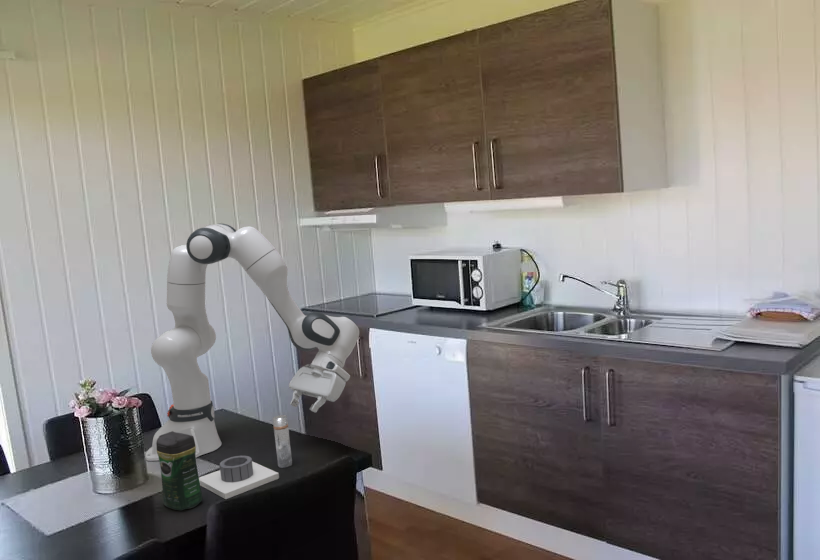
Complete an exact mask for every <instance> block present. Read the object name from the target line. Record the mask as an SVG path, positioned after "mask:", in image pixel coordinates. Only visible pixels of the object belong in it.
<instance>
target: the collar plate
mask: <svg viewBox="0 0 820 560" xmlns="http://www.w3.org/2000/svg"><path fill="white" fill-rule="evenodd" d="M278 479H280V474H279V472H277V471H275V470H273V469H270V468H269V467H266V466H264V465H261V464H259V463H257V462H254V461H253V459H252V457H251V456H248V455H235V456H231V457H228V458H225V459H223V460H222V461H221V462H219V470H217V471H213V472H211V473H208V474H205V475H202V476H199V482H200V487H202V488H205V489H206V490H208V491H210V492H212V493H213V494H216V495H217V496H219V497H221V498H222V499H225V500H227V499H230V498H232V497H235V496H237V495H240V494H243V493H245V492H247V491H248V492H249V491H251V490H253V489H256V488H258V487H261V486H263V485H265V484H268V483H271V482H273V481H277V480H278Z"/></svg>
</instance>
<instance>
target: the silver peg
mask: <svg viewBox="0 0 820 560" xmlns="http://www.w3.org/2000/svg"><path fill="white" fill-rule="evenodd" d="M288 421H289V420H288V416H287V415H285V414H281V415H275V416H273V417H272V422H273V423H272V424H273V425H272V426H273V433H274V443H275V449H276V450H275V451H276V459H277V466H278V468H281V469H283V468H285V469H286V468H289V467H291V466H293V459H292V449H291V441H290V429H289V422H288Z"/></svg>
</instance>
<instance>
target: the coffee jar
mask: <svg viewBox="0 0 820 560" xmlns="http://www.w3.org/2000/svg"><path fill="white" fill-rule="evenodd" d="M156 446H157V454H158V457H159V460H158V461H159V465H160V466H159V467H160V468H159V469H160V476H161V486H162V487H161V488H162V500H163V504H164V506H165V507H166V508H169V509H172V510H175V511H183V510H188V509H192V508H195V507H196V506H198V505H199V504H200V503H201V502H202V501H203V496H202V495H203V494H202V488H201V487H202V486H200V482H199V477H200V476H199V471H198V465H197V458H196V456H195V451H196V445H195V441H194V437H193V436H192V435H187V434H183V433H177V432H173V431H172V432H169V433H166V434H163V435H160V436H159V438H158V439H157V442H156Z"/></svg>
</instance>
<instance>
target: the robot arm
mask: <svg viewBox="0 0 820 560" xmlns="http://www.w3.org/2000/svg"><path fill="white" fill-rule="evenodd" d="M227 258H231V259H234V260H235V261H237V263H238V264H239V265H240V266H241V267H242V268H243V270H244V271H245V272H246V274H247V275H248V276H249V277H250V279H251V280H252V281H253V282H254V284H255V285H256V286H257V287H258V288H259V289H260V291H261V292H262V294H263V295H265V297H266V298H267V300H268V302H269V303H270V305H271V306H272V307H273V309H274V310H275V312H276V313H277V314H278V316H279V317H280V319H281V320H282V321H283V323H284V325H285V326H286V328H287V331H288V336H289V339H290V341H291V343H292V345H293V346H294V347H295V348H296V349H298V350H300V351H302V352H312V351H314V350H316V349H318V351H317V353H316V354H315V356H314V358H313V360H312V362H311V363H310V364H309V363H307V364H305V365H303V366H302V367H300V368H299V369H298V370H297V372H295V374H294V375H293V377H292V379H291V380H290V382H289V383H288V389H290V390H291V391H293V393H292V399H291V401H290V403H289V405H290V406H292V407H293V408H294V407H295V408H297V407H298V406H299V404H300V402H299V399H300V398H301V397H302V395H305V396H308V397H311V398H312V397H313V398H317V400H316V401H315V402H314V403H312V404H310V405H311V406H310V407H309V411H310V412H313V413H317V412H318V411H319V409H320V408H321V407H322V406H323V405H324V404H326V402H327V401H329V402H332V403H334V402H336V401H337V400H338V399H339V398H340V396H341V395H342V393H343V391H344V389H345V386H346V382H348V381H349V380H350V379H351V375H350V374H349V373H348V372H347V371H346V370H345V369H344V367H345V364H346V360H347V358H349V356H350V355H351V353H352V352H353V351H354V348H355V346H356V344H357V342H358V339H359V336H360V329H359V327H358V325H357V324H356V322H355V321H354V320H352V319H351V318H348V317H347V316H332V315H331V316H330V315H327V314H325V313H323V312H318V311H314V312H311V313H308V314H307V315H305V314H304V312H303V311H302V310H301V308H300V307H299V306H298V304H297V302H295V300H294V298H293V297H292V295H291V294H290V292H289V289H288V266H287V264H286V261H285V260H284V259H283V257H282V255H281V254H280V252H279V251H278V250H277V249H276V248H275V246H274V245H273V244H272V243H271V241H270V240H269V239H267V237H266V236H265V235H264V234H263V233H262V232H261V231H259V230H258V229H257V227H254V226H249V225H248V226H243V227H241V228H238V229H235V228H234V227H233V226H232V225H230V224H226V223H213V224H208V225H206V226H205V225H204V227H200V228H197V229H195V230H194V231H193V232H192V233H191V234H190V235H189V237H188V238H187V241H186V244H182V245H178V246H176V247H174V248H173V249H172V251H171V253H170V256H169V261H168V266H167V275H166V277H167V278H166V307H167V309H168V310H169V311H170V312H171V313H172V315H173V318H174V323H175V326H174V328H172V329H169V330H167V331H164V332H162V334H160V335H158V337H157V338H156V339H154V341H153V342H152V344H151V347H150V354H151V357H152V359H153V360H154V361H153V362H155V363H156V364H157V365H158V366H159V367H161V368H163V370H164V372H165V374H166V376H167V379H168V382H169V384H170V388H171V394H172V395H171V396H172V397H171V398H172V402H173V404H171V405H170V407H168V408H169V409H168V410H167V412H166V414H167V415H166V416H167V418H168V419H167V421H166V422H164V424H163V425H162V426H160V428H159V429H158V430H157V431H156V432H155V433H154V435H153V439H152V446H151V447H149V449H147V451H146V453H145V460H146V461H148V462H150V461H151V462H157V461H159V457H158V454H157V446H156V442H157V439H158V438H159V436H160V435H163V434H166V433H169V432H172V431H173V432H177V433H183V434H187V435H192V436H193V437H194V441H195V445H196V451H195V456H196V459H197V458H199V457H200V456H202V455H205V454H208V453H212V452H214V451H216V450H218V449H219V448H220V447H221V446H222V444H223V443H222V441H221V438H220V436H219V434H218V430H217V427H216V423H215V409H214V408H215V407H214V405H213V400H212V399H211V392H210V385H209V384H210V383H209V378H208V376H207V375H206V374H205V373H203V372H202V370H201V369H200V365H199V363H198V360H197V359H198V358H199V357H201V356H203V355H205V354H207V352H208V351H209V350H210V349H211V348H212V347H213V346H214V345H215V343H216V338H217V335H216V334H217V333H216V331H215V329H214V327H213V326H212V325H211V324H210V321H209V319H208V315H207V310H206V272H207V268H208V265H212V264H215V263H219V262H222V261H224V260H226V259H227Z"/></svg>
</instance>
